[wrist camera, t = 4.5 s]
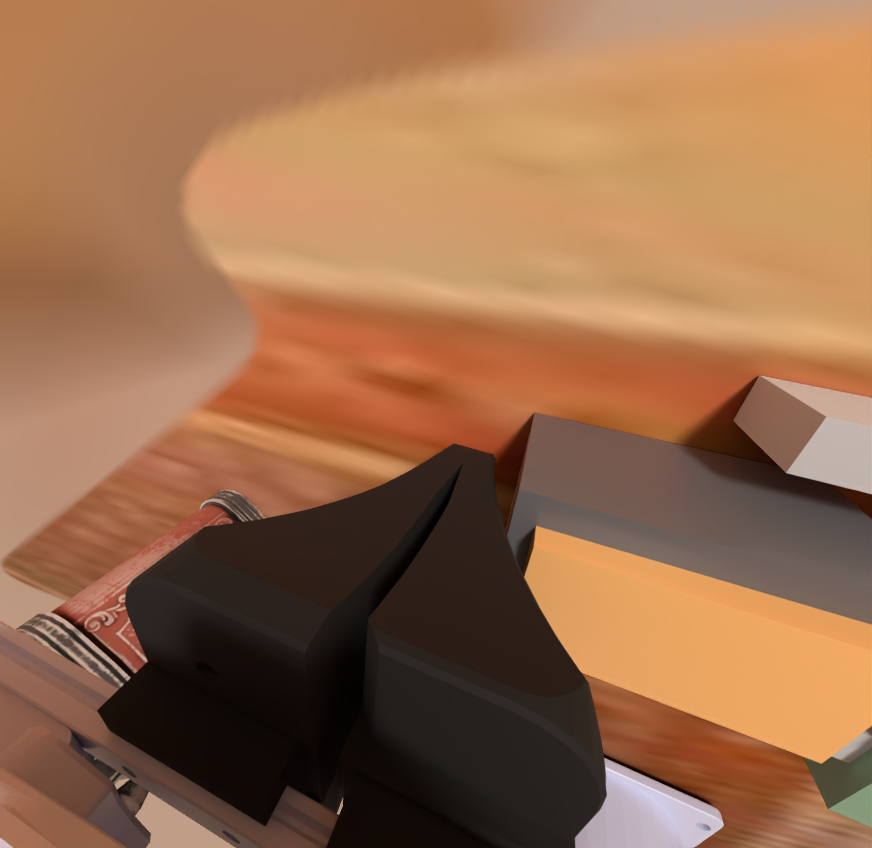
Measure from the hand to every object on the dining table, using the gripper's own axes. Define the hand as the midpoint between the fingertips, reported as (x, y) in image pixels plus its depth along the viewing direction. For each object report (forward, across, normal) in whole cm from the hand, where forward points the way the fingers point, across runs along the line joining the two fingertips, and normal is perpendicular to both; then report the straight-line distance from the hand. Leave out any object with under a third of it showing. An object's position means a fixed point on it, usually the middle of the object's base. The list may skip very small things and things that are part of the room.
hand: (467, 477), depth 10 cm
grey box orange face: (+1, -5, 0) cm, 5 cm away
